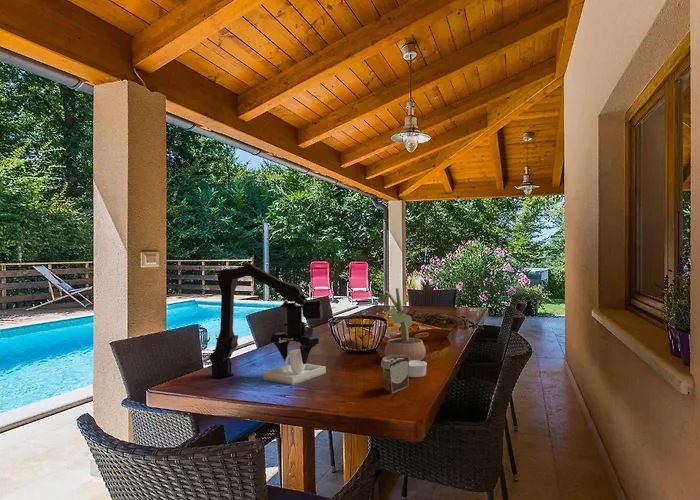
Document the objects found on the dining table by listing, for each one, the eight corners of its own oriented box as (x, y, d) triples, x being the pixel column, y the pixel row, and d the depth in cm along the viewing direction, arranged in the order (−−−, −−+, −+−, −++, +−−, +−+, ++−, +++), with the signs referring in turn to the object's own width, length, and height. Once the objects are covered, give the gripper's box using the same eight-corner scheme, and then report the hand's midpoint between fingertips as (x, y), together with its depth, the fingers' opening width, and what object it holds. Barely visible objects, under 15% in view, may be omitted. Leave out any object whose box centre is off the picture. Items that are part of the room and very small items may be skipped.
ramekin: (400, 372, 176) (400, 360, 176) (424, 371, 176) (423, 359, 176) (404, 378, 167) (404, 366, 167) (429, 377, 167) (429, 365, 167)
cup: (311, 371, 175) (310, 349, 176) (293, 377, 167) (292, 354, 168) (297, 369, 179) (296, 348, 180) (278, 375, 171) (277, 353, 172)
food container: (395, 382, 162) (394, 353, 162) (410, 385, 158) (409, 355, 158) (373, 391, 152) (372, 360, 152) (389, 394, 148) (388, 362, 148)
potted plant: (391, 353, 208) (389, 285, 208) (431, 356, 200) (429, 285, 200) (370, 365, 188) (368, 289, 188) (413, 368, 180) (411, 289, 180)
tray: (292, 385, 162) (292, 377, 162) (263, 379, 170) (263, 372, 170) (325, 373, 176) (325, 366, 176) (297, 368, 184) (297, 362, 184)
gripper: (327, 318, 174) (328, 361, 174) (290, 315, 185) (291, 355, 185) (307, 322, 165) (308, 367, 165) (269, 319, 176) (270, 361, 176)
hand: (295, 362), depth 173 cm, fingers open, 9 cm apart
